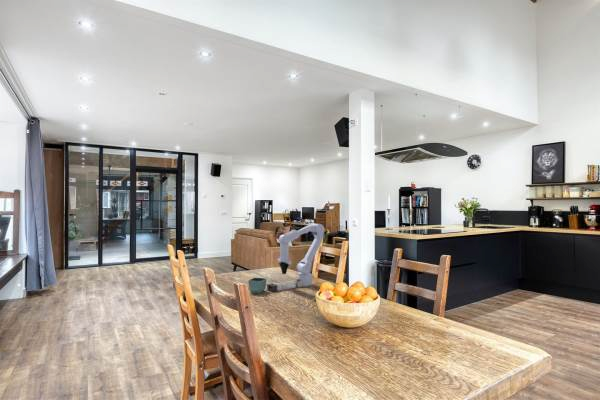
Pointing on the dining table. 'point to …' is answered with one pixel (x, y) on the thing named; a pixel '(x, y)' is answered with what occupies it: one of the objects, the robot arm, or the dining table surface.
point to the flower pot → (257, 285)
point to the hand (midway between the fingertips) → (284, 273)
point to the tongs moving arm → (282, 286)
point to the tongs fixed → (297, 282)
